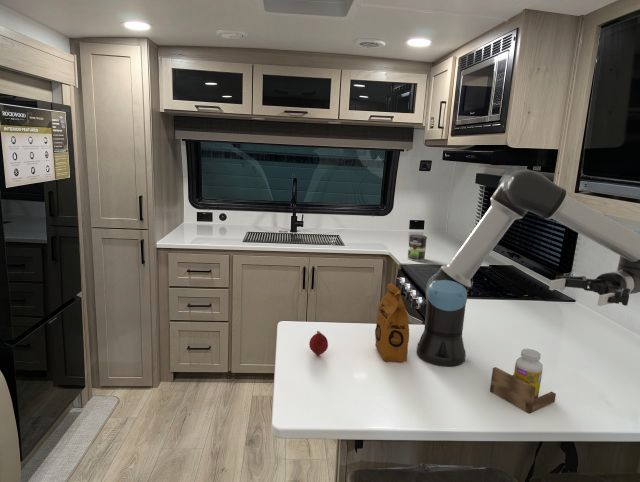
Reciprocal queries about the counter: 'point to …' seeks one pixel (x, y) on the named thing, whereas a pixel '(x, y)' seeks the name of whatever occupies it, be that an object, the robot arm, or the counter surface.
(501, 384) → the u-shaped wooden bracket
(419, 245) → the coffee can
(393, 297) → the coffee package
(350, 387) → the counter surface
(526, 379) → the supplement bottle
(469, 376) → the counter surface
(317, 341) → the onion
